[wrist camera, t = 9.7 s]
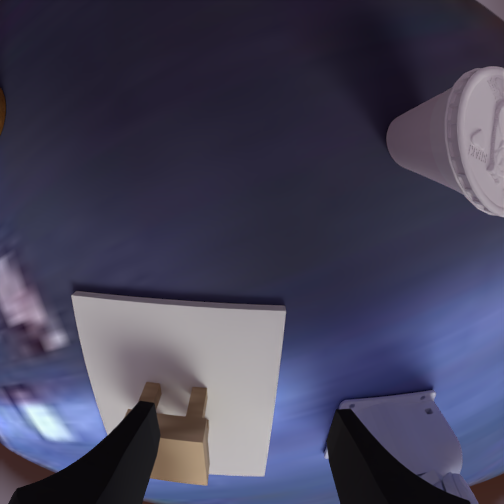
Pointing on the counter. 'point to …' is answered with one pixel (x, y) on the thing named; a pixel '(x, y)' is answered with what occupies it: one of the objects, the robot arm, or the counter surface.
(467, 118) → the smoothie
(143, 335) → the cutting board
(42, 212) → the counter surface
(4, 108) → the disposable coffee cup
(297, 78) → the counter surface
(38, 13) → the counter surface
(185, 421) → the stool
